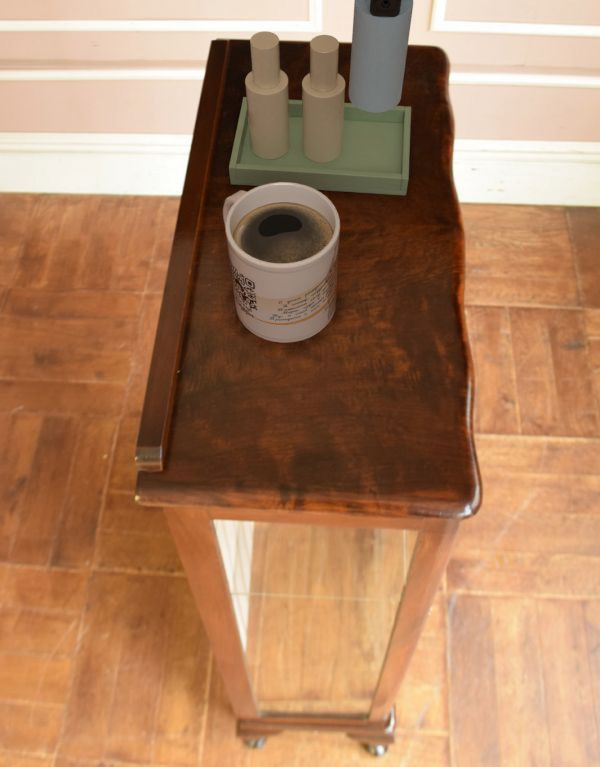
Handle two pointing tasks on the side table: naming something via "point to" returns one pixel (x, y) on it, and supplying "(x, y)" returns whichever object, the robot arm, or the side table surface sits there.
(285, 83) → the cream bottle
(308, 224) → the mug
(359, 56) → the blue bottle
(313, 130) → the cream bottle
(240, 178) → the tray
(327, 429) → the side table surface
